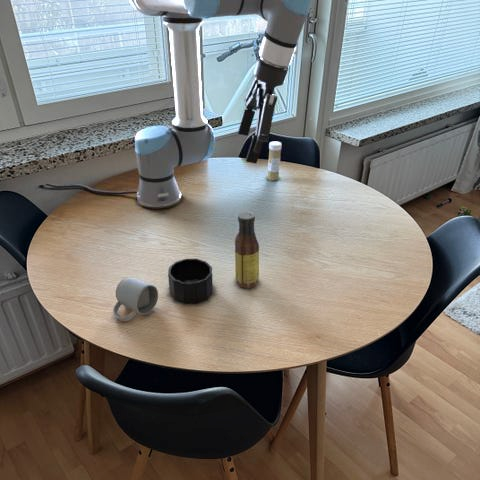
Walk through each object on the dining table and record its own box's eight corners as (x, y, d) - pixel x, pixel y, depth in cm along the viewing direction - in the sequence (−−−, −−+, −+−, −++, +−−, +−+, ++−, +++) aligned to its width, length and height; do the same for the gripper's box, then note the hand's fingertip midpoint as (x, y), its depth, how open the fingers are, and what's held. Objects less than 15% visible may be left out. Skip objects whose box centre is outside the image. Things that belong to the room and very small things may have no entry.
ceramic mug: (136, 293, 113) (131, 268, 108) (160, 304, 110) (156, 279, 105) (106, 315, 107) (99, 291, 102) (131, 328, 103) (125, 303, 98)
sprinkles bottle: (266, 175, 171) (269, 140, 162) (278, 176, 171) (281, 141, 162) (267, 180, 168) (269, 145, 159) (279, 181, 168) (282, 145, 159)
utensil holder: (162, 296, 113) (159, 275, 108) (185, 274, 120) (183, 254, 116) (198, 309, 109) (197, 288, 105) (220, 285, 116) (219, 265, 112)
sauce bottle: (262, 279, 119) (266, 212, 106) (252, 291, 115) (255, 224, 102) (240, 273, 121) (241, 207, 108) (230, 285, 117) (230, 218, 104)
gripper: (301, 89, 92) (269, 177, 107) (278, 44, 107) (252, 126, 123) (268, 81, 90) (240, 172, 105) (249, 36, 105) (226, 121, 121)
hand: (246, 147), depth 114 cm, fingers open, 13 cm apart
